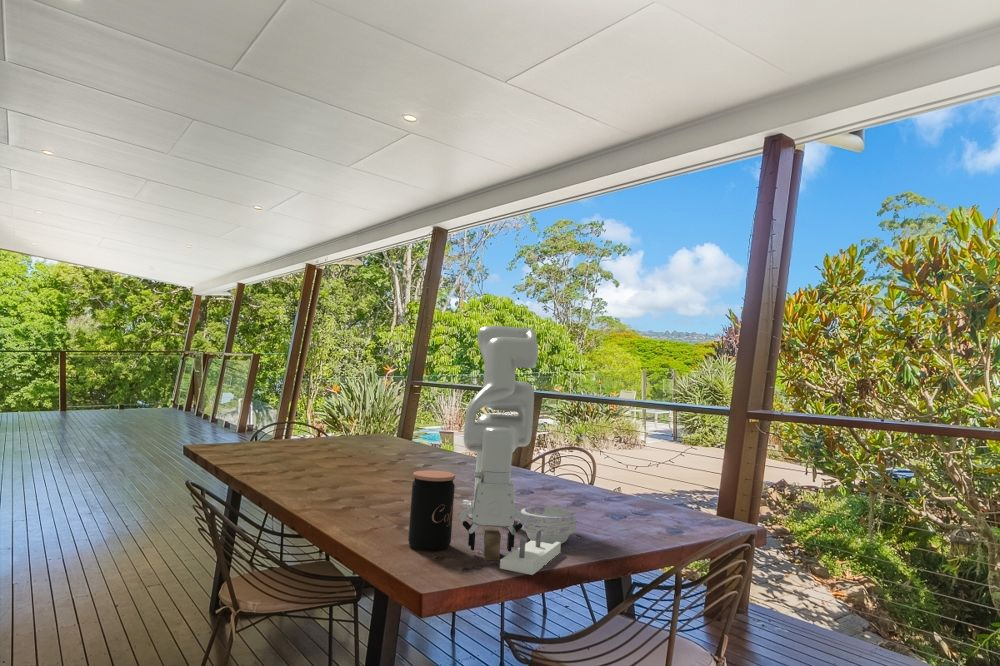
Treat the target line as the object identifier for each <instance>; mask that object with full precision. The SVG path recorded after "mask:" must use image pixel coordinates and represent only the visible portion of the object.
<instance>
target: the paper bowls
mask: <svg viewBox="0 0 1000 666" xmlns="http://www.w3.org/2000/svg"><path fill="white" fill-rule="evenodd" d="M520 512H521V513H523V514H524V515H526V517H527V520H526V522H525V523H524V525H523V526H522V528H521V529H520V530H523V532H526V536H527V538H528V539H529V541H531V540H532V541H536V530H541V542H543V543H549V544H554V543H555V542H561V545H562V544H564V543H566V541H567V540H568V538H569V536H570V535H573V534H575V533H576V531H577V513H576V512H574V511H573V510H571V509H566V508H562V507H557V506H556V507H554V506H543V505H542V506H527V507H526V506H525V507H524V508H522V509H521V510H520Z"/></svg>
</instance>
